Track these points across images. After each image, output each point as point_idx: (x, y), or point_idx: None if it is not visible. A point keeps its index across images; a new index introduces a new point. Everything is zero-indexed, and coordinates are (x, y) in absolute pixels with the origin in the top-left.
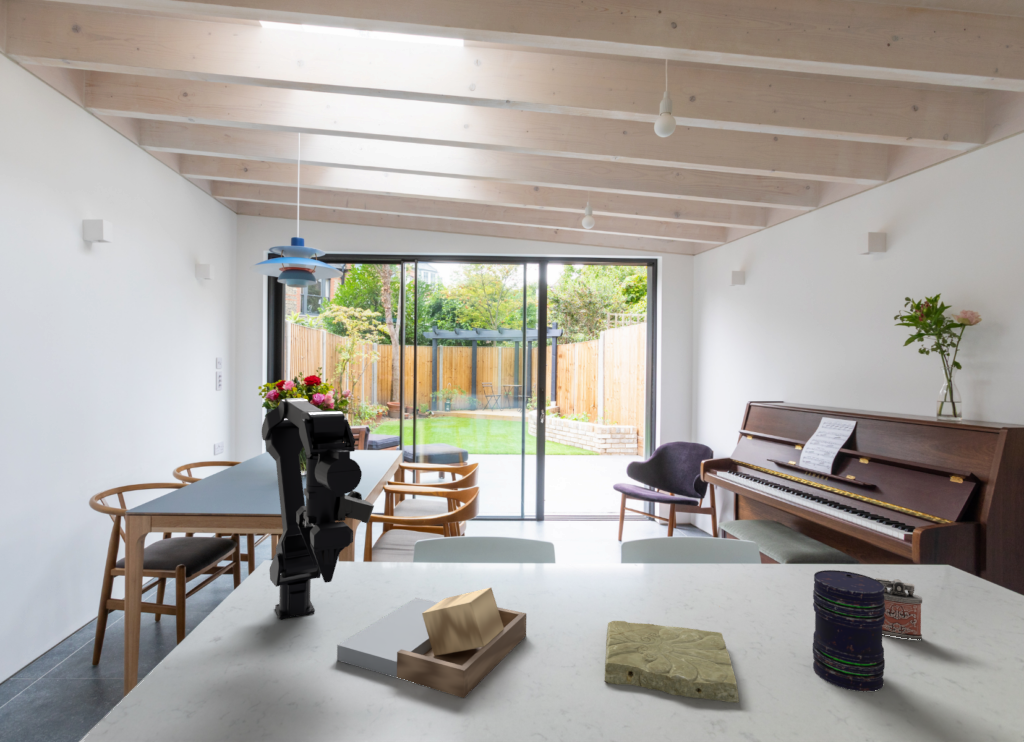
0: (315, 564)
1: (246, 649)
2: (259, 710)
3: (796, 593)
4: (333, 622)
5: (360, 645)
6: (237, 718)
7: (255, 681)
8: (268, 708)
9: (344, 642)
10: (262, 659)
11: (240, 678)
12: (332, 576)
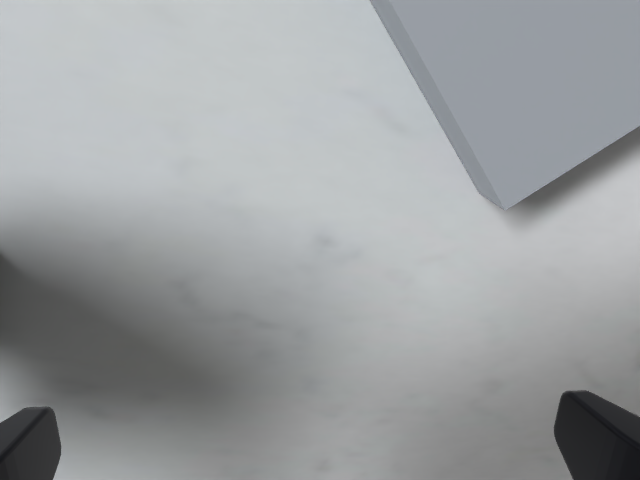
0: (54, 457)
1: (224, 449)
2: None
3: None
4: (103, 126)
5: (576, 119)
6: None
7: (458, 433)
8: None
9: (502, 177)
10: (326, 411)
11: (415, 465)
12: (634, 416)
